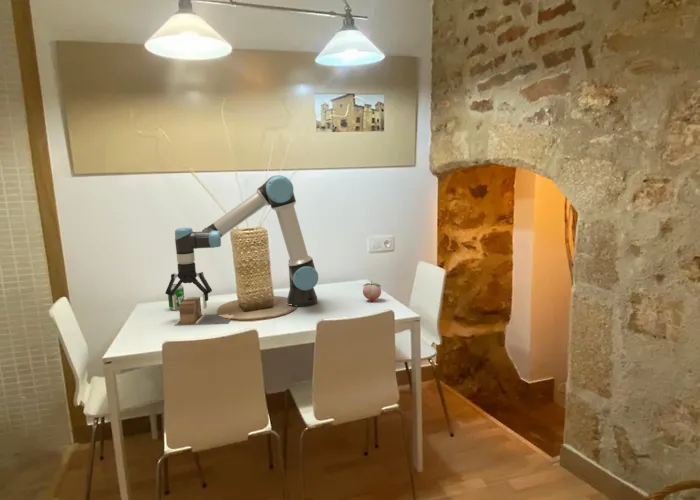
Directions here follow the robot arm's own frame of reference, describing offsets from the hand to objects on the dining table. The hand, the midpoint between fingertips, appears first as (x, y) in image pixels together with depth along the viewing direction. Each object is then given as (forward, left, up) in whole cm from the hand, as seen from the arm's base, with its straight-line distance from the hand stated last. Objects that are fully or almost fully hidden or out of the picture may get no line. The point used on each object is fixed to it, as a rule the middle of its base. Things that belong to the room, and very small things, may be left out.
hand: (190, 308), depth 232 cm
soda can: (+13, -22, -6) cm, 26 cm away
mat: (-7, 0, -6) cm, 9 cm away
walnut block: (0, 0, -5) cm, 5 cm away
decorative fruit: (-84, -23, -6) cm, 87 cm away
